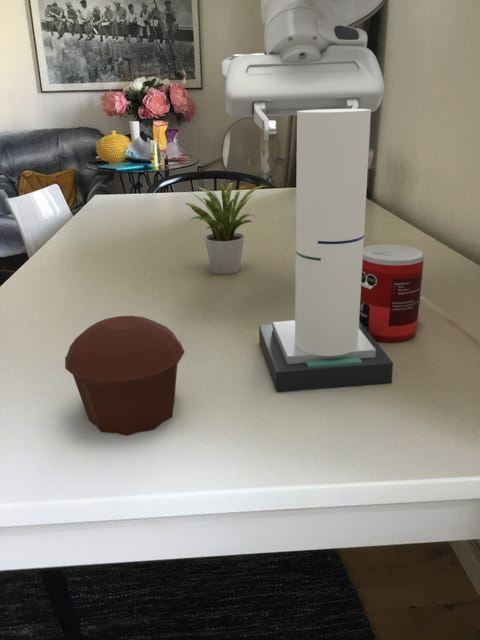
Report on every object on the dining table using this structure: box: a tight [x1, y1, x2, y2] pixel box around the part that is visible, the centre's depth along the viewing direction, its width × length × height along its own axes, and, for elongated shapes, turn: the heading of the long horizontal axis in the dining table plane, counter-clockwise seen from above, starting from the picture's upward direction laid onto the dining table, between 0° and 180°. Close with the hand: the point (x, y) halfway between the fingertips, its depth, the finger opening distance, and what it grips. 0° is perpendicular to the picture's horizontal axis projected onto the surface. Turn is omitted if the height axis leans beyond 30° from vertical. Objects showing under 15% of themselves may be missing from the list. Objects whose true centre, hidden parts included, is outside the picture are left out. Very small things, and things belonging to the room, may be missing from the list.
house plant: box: [185, 180, 268, 275], centre depth 101 cm, size 14×14×16 cm
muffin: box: [64, 315, 185, 437], centre depth 57 cm, size 12×11×10 cm
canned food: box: [359, 243, 425, 343], centre depth 74 cm, size 8×8×11 cm
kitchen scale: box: [258, 319, 394, 393], centre depth 68 cm, size 13×13×4 cm
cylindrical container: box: [294, 109, 372, 356], centre depth 60 cm, size 7×7×25 cm
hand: (308, 135), depth 70 cm, fingers open, 8 cm apart
